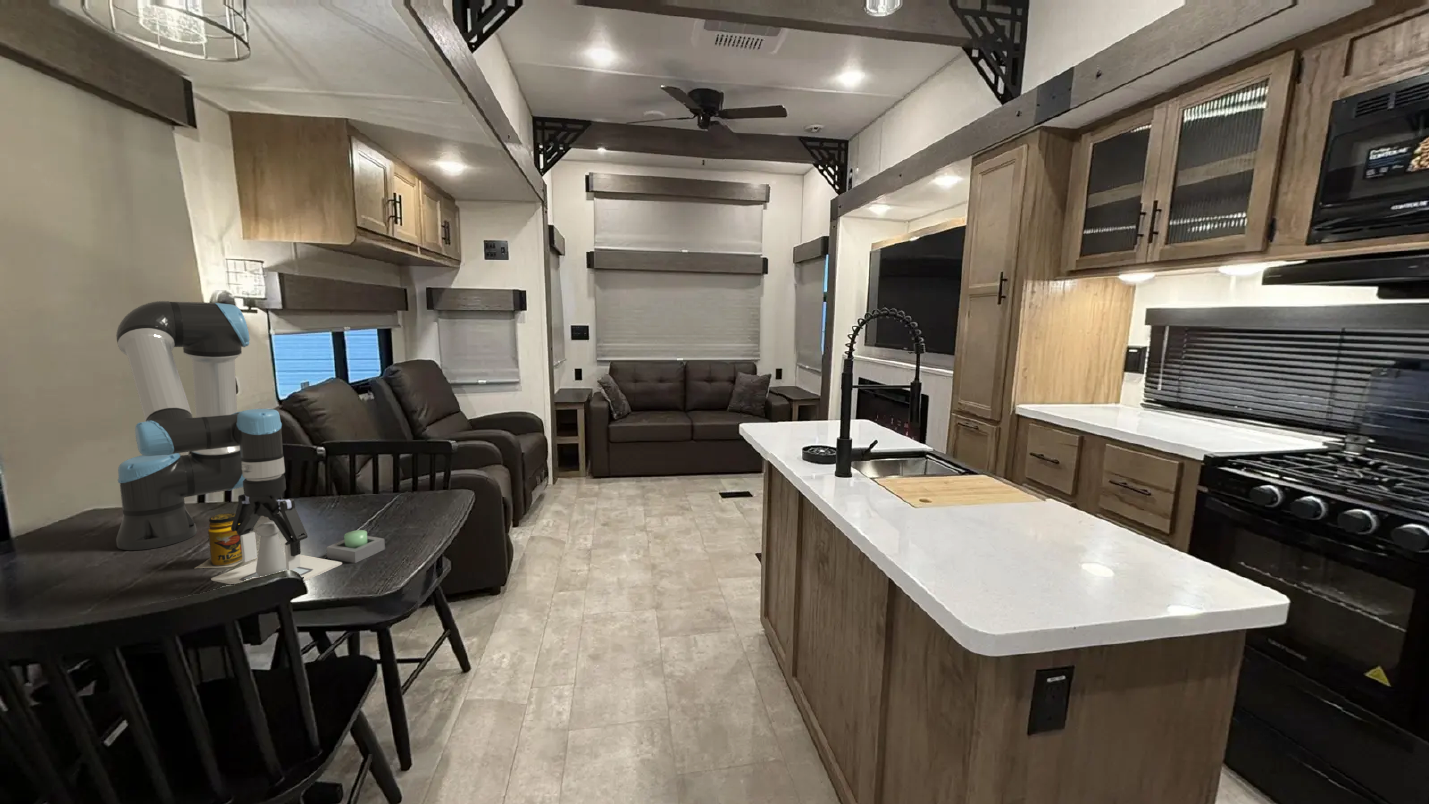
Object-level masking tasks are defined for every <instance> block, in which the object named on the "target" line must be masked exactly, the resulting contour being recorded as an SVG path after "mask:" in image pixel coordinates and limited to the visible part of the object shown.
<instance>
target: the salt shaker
mask: <svg viewBox="0 0 1429 804" xmlns="http://www.w3.org/2000/svg"><path fill="white" fill-rule="evenodd" d="M279 533H281V532H280V530H279V529H278V527H277V526H276V524H275V523H274V521H267V522H264V523H263V522H262V523H261V524H259V525H257V527H256V534H257V535H258V536H260V540H259V546H258V551H257V558H256V559H257V560H256V561H257V566H256V572H257V574H258V575H259V576H265V575H269V574H273V573H276V572H279V571H283V570H286V558H285V555H284V552H285V551H284V549H283V546H282V543H281V542H282V541H281V540H280V537H279Z"/></svg>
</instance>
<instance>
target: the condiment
mask: <svg viewBox="0 0 1429 804" xmlns="http://www.w3.org/2000/svg"><path fill="white" fill-rule="evenodd" d="M235 513H236V512H226V513H220V514H219V513H218V514H216V515H213V516H211V517H209V519H208V521H209V528H208V530H207V533H208V534H207V535H208V543H209V553H210V557H209V558H208V559H207V560H205V561H203V562H202V563H201V564H199V565H198V566H196V567H194V569H203V568H204V569H207V568H208V569H209V568H212V569H213V568H214V569H215V568H216V569H217V568H231V567H232V568H233V567H235V566H237V565H239V564H240V563H243V559H242V548H241V544H240V543H241V542H240V535H238V534H237V531H232V530H231V526H232V523H233V520H234V517H235ZM239 524H240V523H239ZM239 524H238V525H239Z"/></svg>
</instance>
